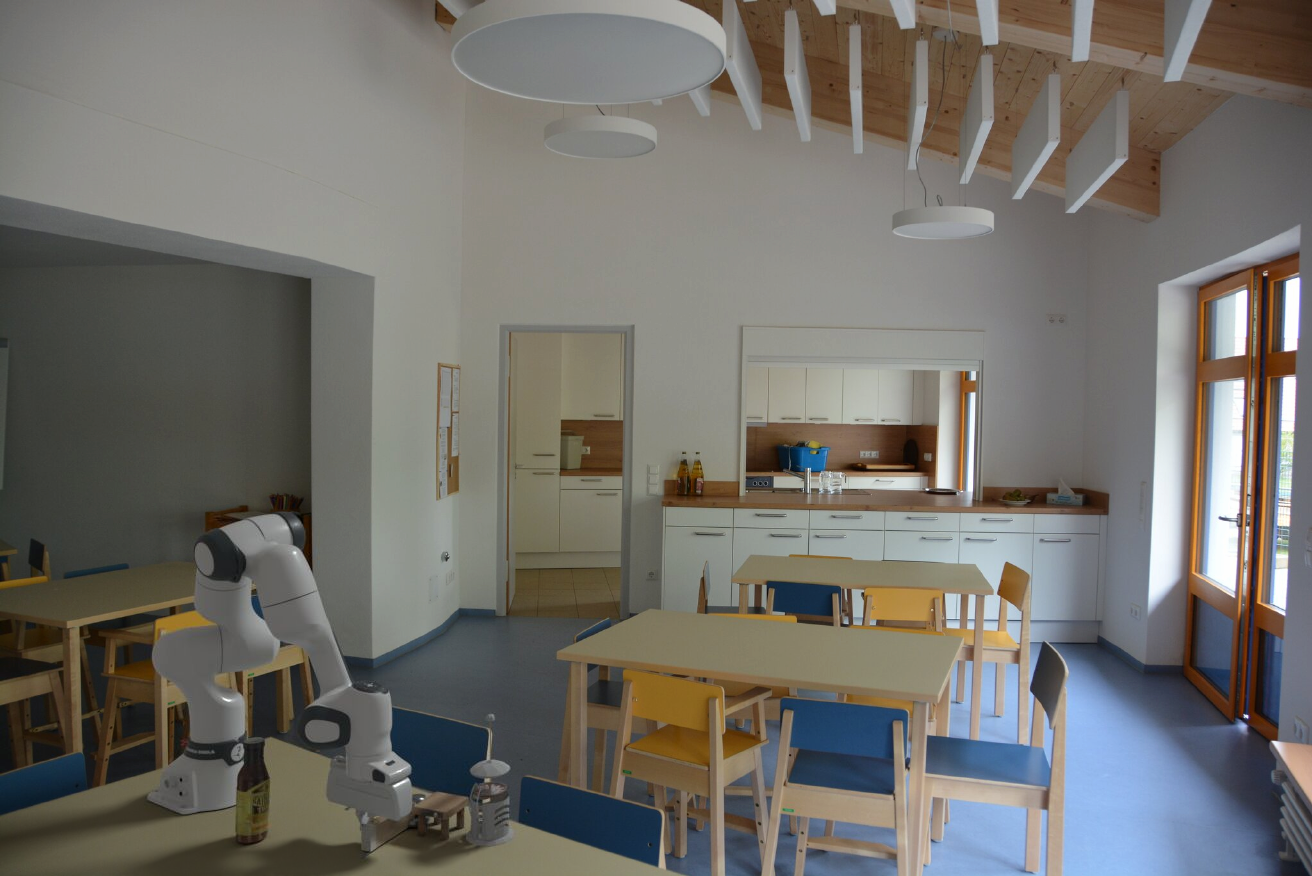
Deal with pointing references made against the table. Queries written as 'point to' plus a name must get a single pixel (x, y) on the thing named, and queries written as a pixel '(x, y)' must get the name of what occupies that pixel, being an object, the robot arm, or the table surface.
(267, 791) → the sauce bottle
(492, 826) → the french press
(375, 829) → the cam lever
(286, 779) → the table surface
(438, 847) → the table surface
